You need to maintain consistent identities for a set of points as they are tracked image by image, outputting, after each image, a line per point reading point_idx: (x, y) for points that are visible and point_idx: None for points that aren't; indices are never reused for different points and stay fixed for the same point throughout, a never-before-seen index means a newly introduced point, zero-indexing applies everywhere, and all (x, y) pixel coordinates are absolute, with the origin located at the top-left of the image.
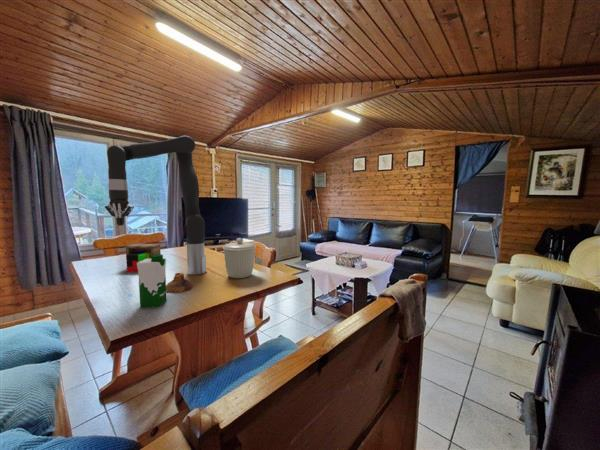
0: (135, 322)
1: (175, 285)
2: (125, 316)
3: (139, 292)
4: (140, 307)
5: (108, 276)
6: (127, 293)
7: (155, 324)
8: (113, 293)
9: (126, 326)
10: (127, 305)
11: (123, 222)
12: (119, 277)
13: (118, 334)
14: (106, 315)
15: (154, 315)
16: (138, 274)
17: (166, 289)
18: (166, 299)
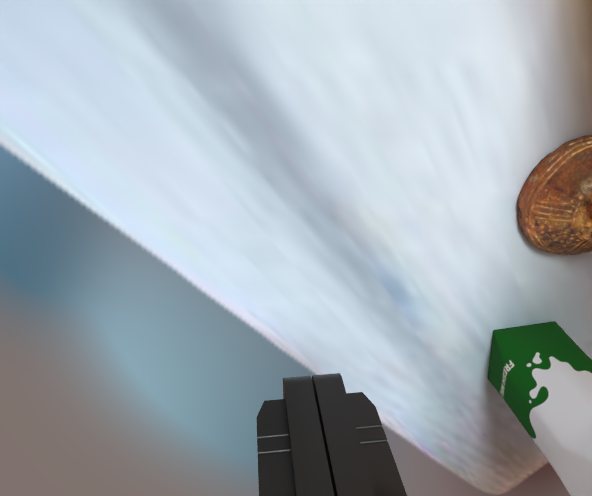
0: (512, 444)
1: (589, 249)
2: (470, 424)
3: (508, 405)
4: (488, 378)
5: (37, 3)
6: (372, 274)
7: None
8: (312, 280)
9: (499, 460)
10: (437, 368)
11: (370, 428)
12: (139, 25)
13: (498, 485)
14: (413, 426)
15: None
16: (551, 465)
17: (537, 246)
18: (557, 324)
